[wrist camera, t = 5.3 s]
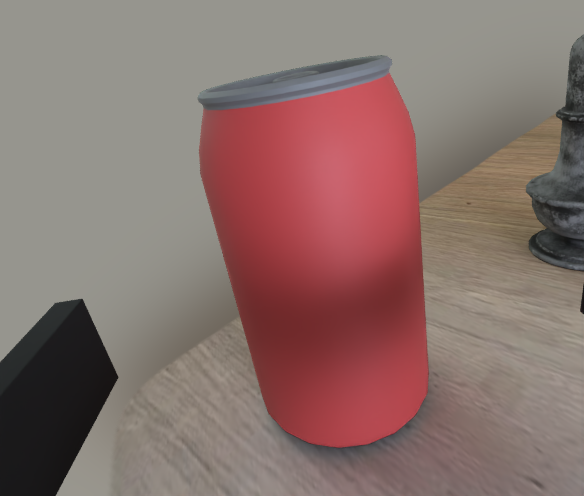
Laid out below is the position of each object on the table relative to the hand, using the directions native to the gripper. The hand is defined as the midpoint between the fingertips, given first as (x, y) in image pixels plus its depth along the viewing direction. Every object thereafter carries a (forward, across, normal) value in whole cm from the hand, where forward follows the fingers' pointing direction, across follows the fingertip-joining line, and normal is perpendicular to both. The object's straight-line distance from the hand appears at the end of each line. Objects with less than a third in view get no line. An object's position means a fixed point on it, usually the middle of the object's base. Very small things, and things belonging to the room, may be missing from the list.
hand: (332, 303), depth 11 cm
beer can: (+4, 0, -7) cm, 8 cm away
